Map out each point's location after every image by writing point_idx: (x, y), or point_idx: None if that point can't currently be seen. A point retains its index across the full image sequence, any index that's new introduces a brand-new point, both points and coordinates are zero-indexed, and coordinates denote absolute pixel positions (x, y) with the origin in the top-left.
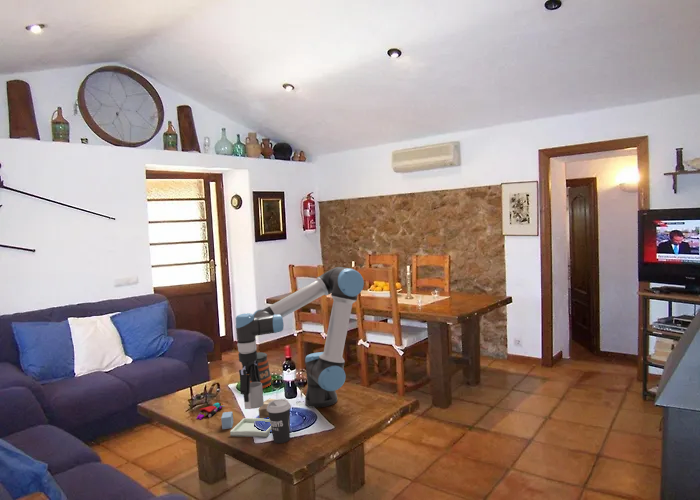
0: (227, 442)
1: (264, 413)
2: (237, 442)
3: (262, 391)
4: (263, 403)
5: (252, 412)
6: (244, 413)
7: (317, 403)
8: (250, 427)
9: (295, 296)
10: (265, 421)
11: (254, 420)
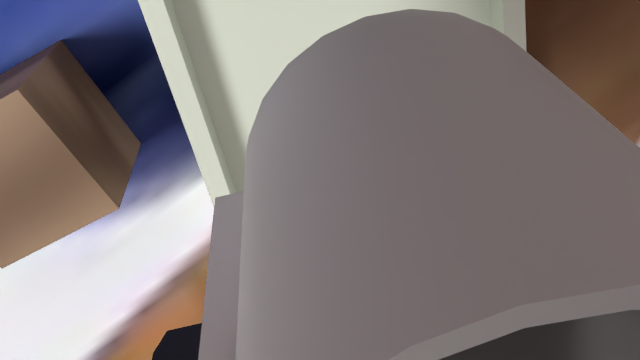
0: (632, 130)
1: (89, 129)
2: (631, 42)
3: (373, 152)
4: (325, 35)
5: (28, 311)
6: (83, 354)
7: None
8: None
9: None
10: (182, 36)
11: (221, 160)
